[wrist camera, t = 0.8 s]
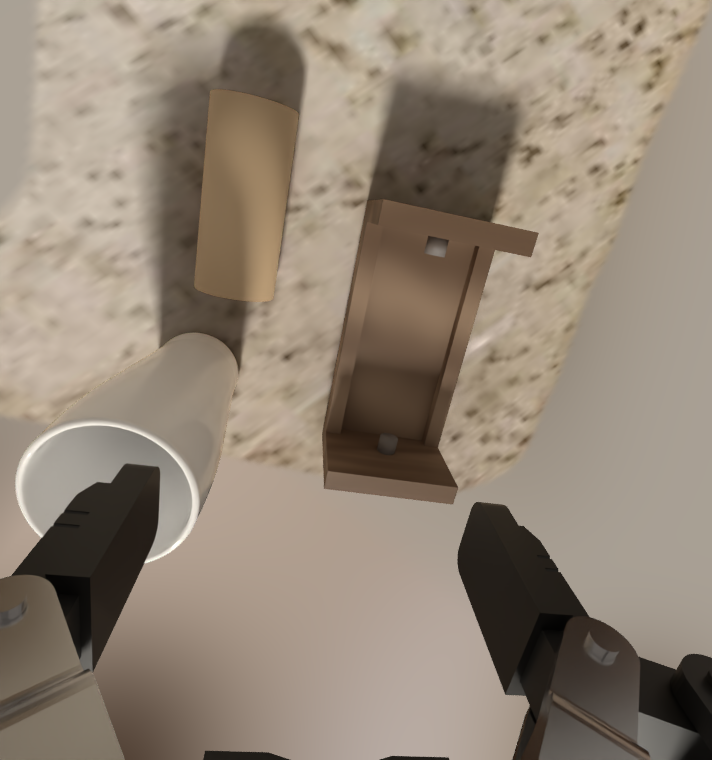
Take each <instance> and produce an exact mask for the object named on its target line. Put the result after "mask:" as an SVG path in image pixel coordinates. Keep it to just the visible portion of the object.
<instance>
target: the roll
mask: <svg viewBox="0 0 712 760" xmlns="http://www.w3.org/2000/svg"><path fill="white" fill-rule="evenodd" d="M298 119H299V113H298V112H296V111H295V110H293V109H292V108H290V107H287V106H285V105H283V104H280V103H277V102H275V101H272V100H269V99H265V98H262V97H258V96H255V95H251V94H247V93H242V92H237V91H231V90H223V89H213V90H211V91H210V97H209V110H208V122H207V134H206V146H205V158H204V170H203V182H202V194H201V207H200V219H199V231H198V243H197V255H196V267H195V279H194V287H195V288H196V289H197V290H199V291H201V292H203V293H206V294H210V295H213V296H217V297H221V298H226V299H232V300H240V301H250V302H264V301H270V300H272V299H273V297H274V290H275V283H276V276H277V269H278V261H279V254H280V247H281V240H282V233H283V226H284V219H285V211H286V204H287V197H288V190H289V183H290V176H291V169H292V161H293V154H294V147H295V140H296V133H297V126H298Z"/></svg>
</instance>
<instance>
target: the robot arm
mask: <svg viewBox="0 0 712 760" xmlns="http://www.w3.org/2000/svg"><path fill="white" fill-rule="evenodd" d="M159 496H160V469H159V467H156V466H147V465H138V464H128V463H126V464H124V465H123V467H122V468H121V469H120V471H119V472H118V474H117V475H116V476H115V478H114V479H113V481H112V482H111V483H103V482H96V483H95V484H93V485H91V486H90V487H88V488H86V489H85V490H83V491H81V492H80V493H78V494H77V495H76V496H75V497H74V499H73V500H72V501H71V502H70V503H69V505H68V506H67V507H66V508H65V510H64V513H61V515H60V516H59V517H58V518H57V520H56V521H55V522H54V525H53V526H51V527H50V528H49V530H48V531H47V532H46V533H45V534H44V536H43V537H42V538H41V539H40V541H39V542H38V543H37V545H36V546H35V547H34V548H33V549H32V551H31V552H30V553H29V554H28V556H27V557H26V558H25V559H24V561H23V562H22V563H21V564H20V565H19V567H18V568H17V569H16V571H15V572H14V573H13V574H12V576H9V577H5V578H2V579H0V760H124V757H123V754H122V751H121V748H120V746H119V743H118V740H117V738H116V735H115V732H114V729H113V726H112V724H111V721H110V719H109V716H108V713H107V710H106V707H105V704H104V702H103V699H102V697H101V694H100V691H99V688H98V685H97V683H96V680H95V678H94V675H93V674H92V673H93V671H94V669H95V667H96V665H97V662H98V660H99V658H100V656H101V654H102V652H103V650H104V647H105V645H106V643H107V641H108V639H109V637H110V635H111V633H112V631H113V628H114V626H115V624H116V622H117V620H118V618H119V616H120V614H121V611H122V609H123V607H124V605H125V603H126V601H127V598H128V597H129V594H130V592H131V590H132V588H133V586H134V584H135V582H136V580H137V578H138V575H139V573H140V571H141V569H142V567H143V565H144V563H145V561H146V558H147V556H148V554H149V552H150V550H151V548H152V545H153V543H154V540H155V536H156V532H157V528H158V521H159ZM458 569H459V573H460V576H461V579H462V582H463V584H464V587H465V589H466V592H467V595H468V597H469V600H470V602H471V605H472V608H473V611H474V613H475V616H476V618H477V621H478V623H479V626H480V629H481V631H482V634H483V637H484V639H485V642H486V645H487V647H488V650H489V652H490V655H491V658H492V661H493V663H494V666H495V668H496V671H497V674H498V676H499V679H500V682H501V684H502V686H503V690H504V692H505V694H506V695H523V696H526V697H527V700H528V702H529V704H530V706H529V708H528V710H527V712H526V715H525V717H524V721H523V724H522V728H521V731H520V735H519V738H518V741H517V745H516V748H515V752H514V755H513V759H512V760H712V658H710V657H707V656H704V655H699V654H689V655H687V656H685V657H684V658H683V659H682V661H681V663H680V665H679V666H678V668H677V670H675V669H673V668H670V667H667V666H664V665H661V664H658V663H655V662H652V661H649V660H646V659H643V658H640V657H638V655H637V653H636V651H635V649H634V648H633V646H632V645H631V644H630V643H629V642H628V640H627V639H626V638H625V637H624V636H622V635H621V634H620V633H619V632H618V631H617V630H615V629H614V628H612V627H611V626H609V625H607V624H606V623H604V622H601V621H599V620H597V619H594V618H591V617H589V616H588V614H587V612H586V611H585V609H584V608H583V606H582V605H581V604H580V602H579V600H578V599H577V597H576V596H575V594H574V592H573V591H572V590H571V588H570V586H569V585H568V583H567V582H566V580H565V579H564V577H563V576H562V574H561V572H558V568H557V567H556V565H555V563H554V562H553V561H552V559H550V556H549V554H548V553H547V551H546V549H545V548H544V546H543V545H542V543H541V542H540V540H538V539H537V538H536V537H535V536H534V535H533V534H532V533H531V532H529V531H528V530H527V529H526V528H525V527H524V526H518V524H517V522H516V521H515V519H514V518H513V516H512V514H511V513H510V511H509V509H508V508H507V507H506V506H505V505H500V504H491V503H482V502H476V503H475V504H474V505H473V507H472V509H471V512H470V515H469V518H468V521H467V524H466V527H465V531H464V534H463V537H462V540H461V543H460V546H459V550H458ZM203 760H289V759H286V758H283V757H280V756H277V755H274V754H271V753H265V752H264V753H263V752H229V751H205V754H204V759H203ZM380 760H449V758H445V757H409V756H408V757H407V756H391V757H387V758H384V759H380Z"/></svg>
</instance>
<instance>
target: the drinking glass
mask: <svg viewBox="0 0 712 760" xmlns="http://www.w3.org/2000/svg"><path fill="white" fill-rule="evenodd" d="M237 382H238V365H237V362H236V359H235V357H234V355H233V353H232V352H231V351H230V349H229V348H228V347H227V346H226V345H225V344H224V343H223V342H221V341H220V340H218V339H217V338H215V337H213V336H210V335H207V334H203V333H185V334H181V335H178V336H176V337H174V338H172V339H170V340H169V341H168V342H166V343H165V344H164V345H163V346H162V347H161V348H159V349H158V350H156V351H155V352H153V353H151V354H150V355H148V356H146V357H145V358H143V359H141V360H140V361H138V362H137V363H135V364H133V365H131V366H130V367H128V368H126V369H125V370H123V371H121V372H120V373H118V374H116V375H115V376H113V377H111V378H110V379H108V380H106V381H105V382H103V383H102V384H100V385H99V386H97V387H95V388H94V389H93V390H91V391H90V392H88V393H87V394H85V395H84V396H83V397H81V398H80V399H79V400H78V401H76V402H75V403H74V404H73V405H72V406H70V407H69V408H68V409H67V410H66V411H64V412H63V413H62V414H61V415H60V416H59V417H58V418H57V419H55V420H54V421H53V422H52V423H51V424H50V425H49V426H48V427H47V428H46V429H45V430H44V431H43V432H42V433H41V434H40V435H39V436H38V437H37V438H36V439H35V440H34V441H33V442H32V443H31V444H30V445H29V446H28V448H27V449H26V450H25V452H24V454H23V455H22V457H21V460H20V462H19V464H18V468H17V472H16V479H15V490H16V496H17V501H18V504H19V507H20V509H21V511H22V513H23V515H24V517H25V519H26V520H27V522H28V523H29V525H30V526H31V527H32V529H33V530H34V531H35V532H36V533H37V534H38V535H39V536H40V537H41V538H42V537H43V536H44V534H45V533H46V532H47V531H48V530H49V528H50V527H51V526H53V525H54V522H55V521H56V520H57V518H58V517H59V516H60V515H61V513H64V510H65V508H66V507H67V506H68V505H69V503H70V502H71V501H72V500H73V499H74V497H75V496H76V495H77V494H78V493H80V492H81V491H83V490H85V489H86V488H88V487H90V486H91V485H93V484H95V483H96V482H103V483H111V482H112V481H113V479H114V478H115V476H116V475H117V474H118V472H119V471H120V469H121V468H122V467H123V465H124V464H126V463H128V464H138V465H147V466H156V467H159V469H160V496H159V521H158V528H157V532H156V536H155V540H154V543H153V545H152V548H151V550H150V552H149V554H148V556H147V558H146V561H145V563H148V562H151V561H154V560H156V559H158V558H161V557H163V556H165V555H166V554H168V553H170V552H171V551H173V550H174V549H175V548H177V547H178V546H179V545H180V544H181V543H182V542H183V541H184V540H185V539H186V538H187V536H188V535H189V533H190V532H191V531H192V529H193V527H194V525H195V523H196V520H197V518H198V516H199V514H200V512H201V509H202V507H203V505H204V503H205V501H206V498H207V496H208V493H209V491H210V488H211V486H212V483H213V480H214V477H215V475H216V471H217V468H218V464H219V461H220V457H221V452H222V448H223V442H224V437H225V432H226V427H227V422H228V417H229V411H230V407H231V402H232V397H233V393H234V391H235V388H236V386H237Z"/></svg>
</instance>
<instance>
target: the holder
mask: <svg viewBox="0 0 712 760" xmlns="http://www.w3.org/2000/svg"><path fill="white" fill-rule="evenodd" d="M538 234H539V233H536V232H532V231H527V230H523V229H518V228H514V227H509V226H504V225H500V224H495V223H491V222H486V221H482V220H477V219H472V218H468V217H463V216H459V215H454V214H450V213H445V212H440V211H436V210H431V209H427V208H422V207H418V206H413V205H408V204H404V203H399V202H395V201H390V200H386V199H379V200H368V201H367V206H366V211H365V217H364V222H363V227H362V232H361V237H360V242H359V247H358V253H357V258H356V263H355V268H354V273H353V278H352V283H351V289H350V294H349V299H348V304H347V309H346V314H345V320H344V325H343V330H342V335H341V340H340V345H339V350H338V356H337V361H336V366H335V371H334V376H333V381H332V386H331V392H330V397H329V402H328V407H327V412H326V417H325V423H324V428H323V433H322V441H323V468H324V489H331V490H341V491H348V492H356V493H364V494H373V495H380V496H389V497H397V498H405V499H413V500H421V501H429V502H438V503H446V504H453V503H454V499H455V496H456V493H457V490H458V486H457V484H456V483H455V481H454V479H453V477H452V475H451V473H450V471H449V469H448V467H447V465H446V463H445V461H444V459H443V457H442V455H441V453H440V451H439V449H438V445H439V441H440V438H441V435H442V431H443V428H444V424H445V421H446V417H447V414H448V410H449V407H450V403H451V400H452V396H453V393H454V390H455V386H456V383H457V379H458V376H459V372H460V369H461V365H462V362H463V358H464V355H465V352H466V348H467V345H468V341H469V338H470V334H471V331H472V327H473V324H474V320H475V317H476V313H477V310H478V307H479V303H480V300H481V296H482V293H483V289H484V286H485V282H486V279H487V275H488V272H489V269H490V265H491V262H492V258H493V255H494V251H495V250H499V251H503V252H508V253H513V254H518V255H522V256H527V257H531V256H532V253H533V249H534V246H535V243H536V240H537V237H538Z"/></svg>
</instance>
